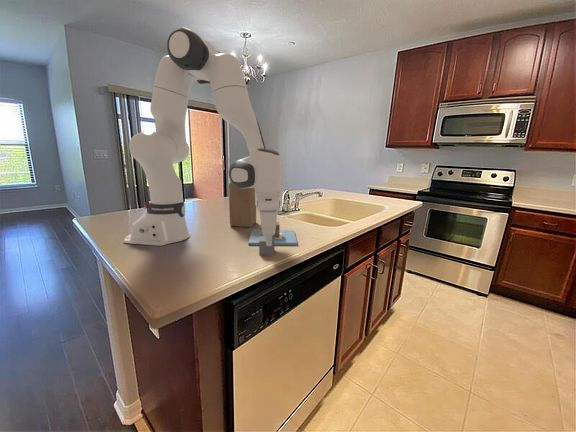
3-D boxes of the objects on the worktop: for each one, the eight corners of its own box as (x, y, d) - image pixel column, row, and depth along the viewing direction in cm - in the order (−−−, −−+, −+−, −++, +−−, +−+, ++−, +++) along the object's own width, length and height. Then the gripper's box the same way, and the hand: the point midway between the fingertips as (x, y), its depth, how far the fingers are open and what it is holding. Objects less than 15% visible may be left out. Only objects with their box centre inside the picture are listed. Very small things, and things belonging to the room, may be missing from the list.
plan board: (248, 245, 93) (248, 242, 93) (252, 232, 109) (251, 229, 108) (297, 245, 94) (297, 242, 94) (293, 232, 110) (293, 229, 109)
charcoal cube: (259, 255, 84) (259, 241, 83) (260, 250, 89) (260, 236, 88) (274, 255, 84) (274, 241, 83) (274, 250, 89) (274, 236, 88)
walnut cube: (266, 237, 98) (266, 225, 97) (266, 233, 103) (266, 221, 102) (279, 237, 99) (279, 225, 98) (279, 233, 104) (279, 221, 102)
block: (249, 228, 114) (249, 183, 109) (229, 226, 116) (227, 182, 111) (256, 222, 124) (256, 181, 119) (237, 220, 126) (236, 180, 121)
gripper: (260, 195, 92) (261, 231, 96) (257, 206, 73) (258, 251, 76) (277, 195, 93) (277, 231, 96) (279, 206, 73) (279, 251, 76)
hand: (269, 240), depth 86 cm, fingers open, 8 cm apart
